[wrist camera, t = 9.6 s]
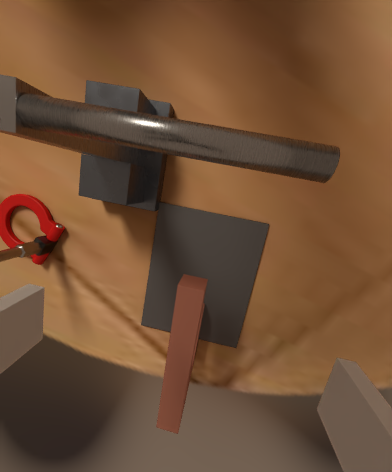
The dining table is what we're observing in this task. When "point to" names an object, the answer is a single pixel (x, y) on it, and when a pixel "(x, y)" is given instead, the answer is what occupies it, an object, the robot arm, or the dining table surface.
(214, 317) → the mat
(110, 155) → the toilet paper holder
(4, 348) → the robot arm
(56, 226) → the tow hook
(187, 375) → the reddish-brown c-shaped bracket
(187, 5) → the dining table surface
